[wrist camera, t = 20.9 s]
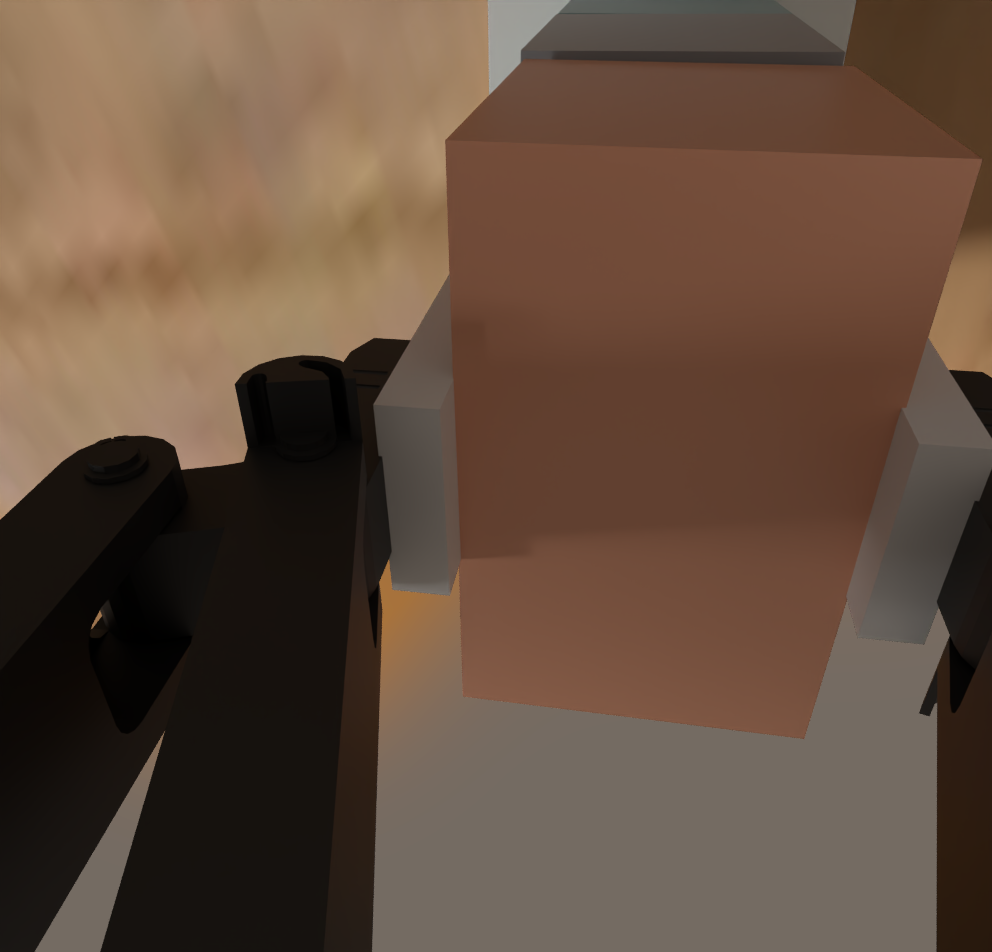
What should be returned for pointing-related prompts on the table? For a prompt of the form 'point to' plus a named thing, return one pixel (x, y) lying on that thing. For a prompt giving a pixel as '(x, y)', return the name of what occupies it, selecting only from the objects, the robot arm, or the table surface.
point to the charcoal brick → (683, 39)
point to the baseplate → (533, 3)
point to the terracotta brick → (682, 373)
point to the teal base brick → (674, 7)
